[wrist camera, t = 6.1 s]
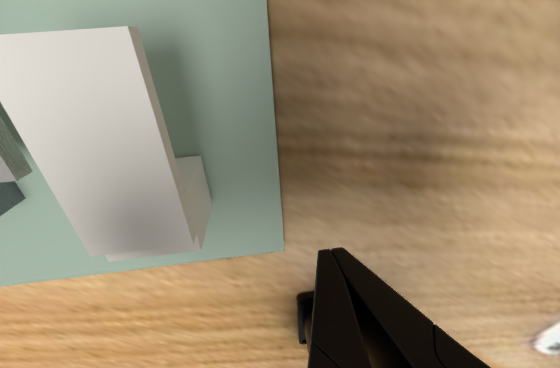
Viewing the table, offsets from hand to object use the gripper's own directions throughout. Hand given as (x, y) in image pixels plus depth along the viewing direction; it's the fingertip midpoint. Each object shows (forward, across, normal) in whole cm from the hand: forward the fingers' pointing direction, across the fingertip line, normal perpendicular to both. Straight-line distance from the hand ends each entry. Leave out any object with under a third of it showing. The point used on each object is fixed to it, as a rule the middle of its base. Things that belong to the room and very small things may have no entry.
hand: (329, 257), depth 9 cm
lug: (+6, +7, -3) cm, 10 cm away
